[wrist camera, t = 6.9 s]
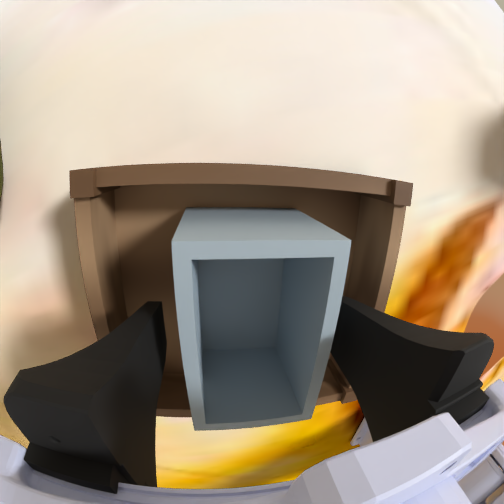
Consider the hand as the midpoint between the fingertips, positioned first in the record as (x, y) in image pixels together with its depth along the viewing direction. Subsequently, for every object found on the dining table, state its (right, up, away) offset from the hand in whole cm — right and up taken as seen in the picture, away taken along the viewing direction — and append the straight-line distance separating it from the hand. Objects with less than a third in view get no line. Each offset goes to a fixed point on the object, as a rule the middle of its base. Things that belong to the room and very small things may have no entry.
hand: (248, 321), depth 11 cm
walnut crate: (-1, +1, +3) cm, 3 cm away
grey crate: (0, +1, +2) cm, 3 cm away
